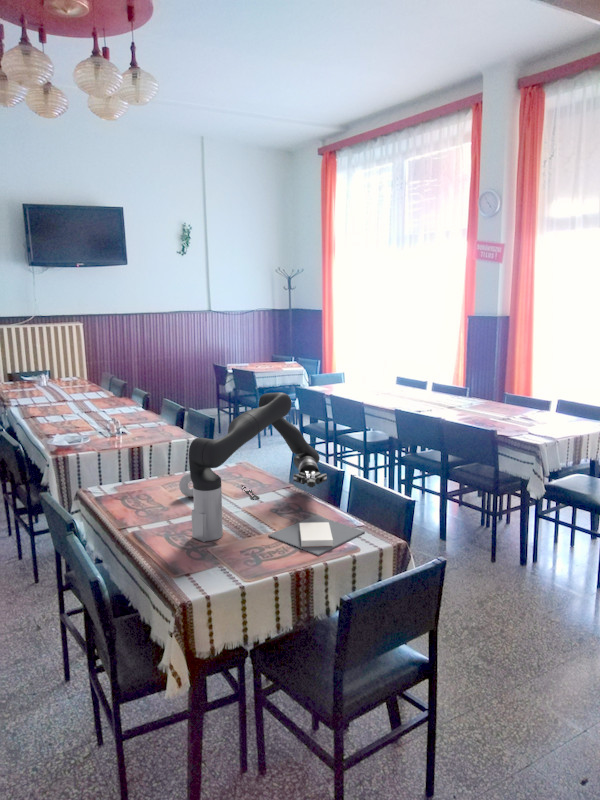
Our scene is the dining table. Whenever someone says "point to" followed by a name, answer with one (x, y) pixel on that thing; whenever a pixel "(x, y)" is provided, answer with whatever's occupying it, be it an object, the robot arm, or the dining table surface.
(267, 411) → the robot arm
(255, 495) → the throwing knife
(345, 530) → the mat
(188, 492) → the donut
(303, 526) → the tile
